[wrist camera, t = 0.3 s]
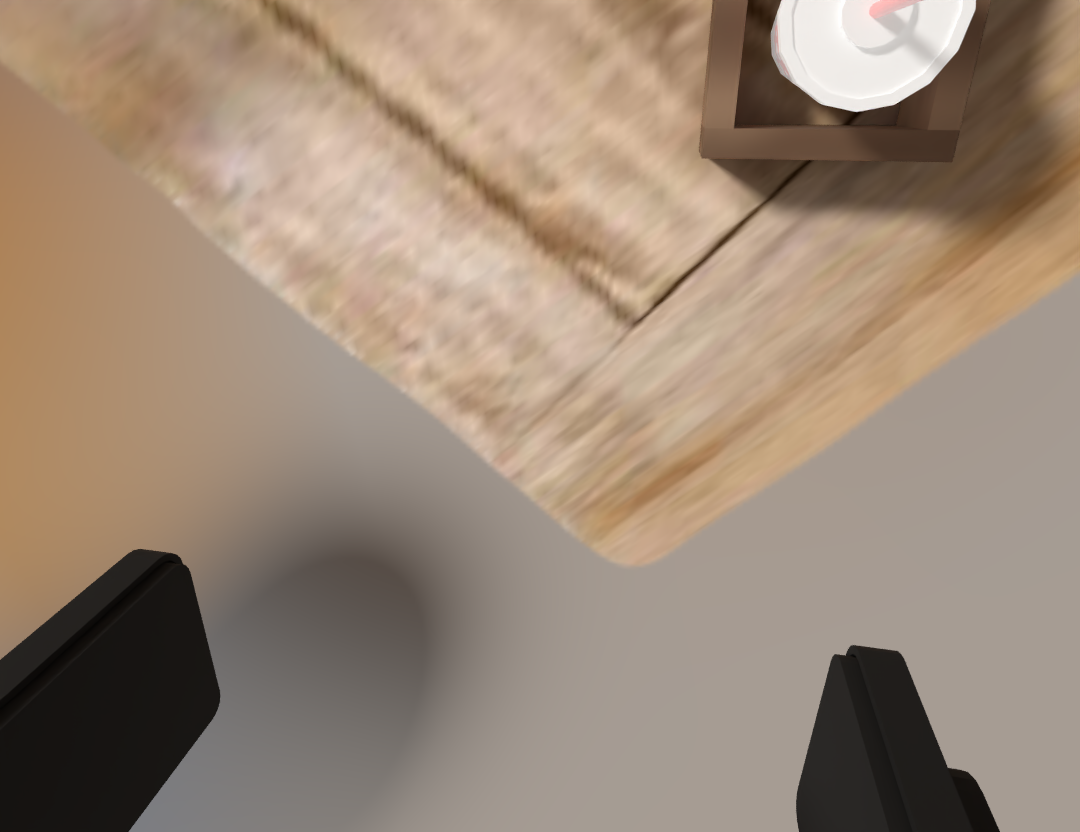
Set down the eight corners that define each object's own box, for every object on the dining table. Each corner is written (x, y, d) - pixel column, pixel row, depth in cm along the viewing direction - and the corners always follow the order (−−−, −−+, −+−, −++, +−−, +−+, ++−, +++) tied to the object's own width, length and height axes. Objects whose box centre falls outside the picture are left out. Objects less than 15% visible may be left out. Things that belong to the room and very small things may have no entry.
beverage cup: (772, 129, 33) (830, 150, 20) (736, -9, 31) (776, -80, 18) (911, 74, 31) (1069, 59, 18) (882, -77, 29) (1038, -208, 16)
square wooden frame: (722, -99, 29) (728, -129, 25) (975, -110, 28) (1025, -145, 24) (699, 150, 34) (701, 158, 30) (918, 153, 32) (952, 162, 28)
